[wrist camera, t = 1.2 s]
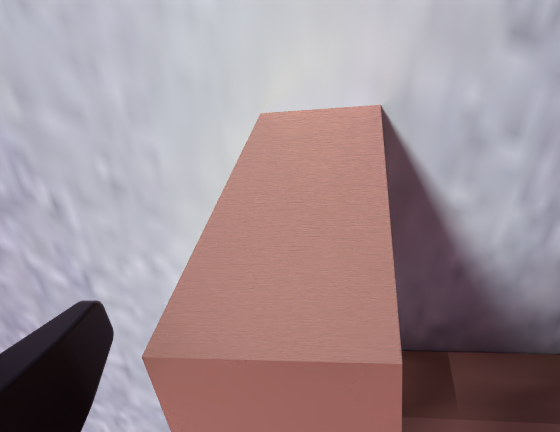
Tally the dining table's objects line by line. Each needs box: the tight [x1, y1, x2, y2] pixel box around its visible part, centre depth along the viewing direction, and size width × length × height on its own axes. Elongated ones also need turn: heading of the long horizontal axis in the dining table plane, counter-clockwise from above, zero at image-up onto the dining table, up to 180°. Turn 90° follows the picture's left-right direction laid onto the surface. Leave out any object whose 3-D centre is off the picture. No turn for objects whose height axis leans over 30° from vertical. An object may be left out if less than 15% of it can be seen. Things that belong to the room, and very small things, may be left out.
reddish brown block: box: [142, 105, 402, 432], centre depth 10 cm, size 3×5×8 cm, turn 7°
